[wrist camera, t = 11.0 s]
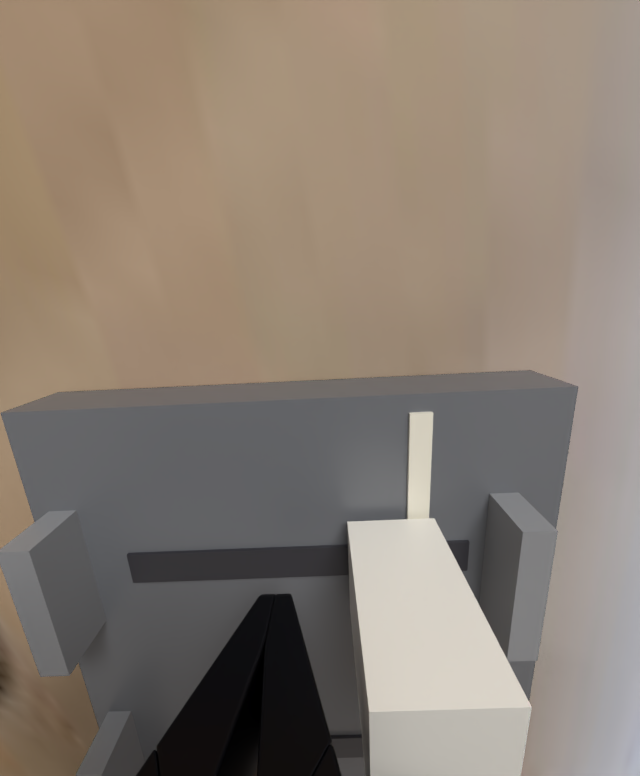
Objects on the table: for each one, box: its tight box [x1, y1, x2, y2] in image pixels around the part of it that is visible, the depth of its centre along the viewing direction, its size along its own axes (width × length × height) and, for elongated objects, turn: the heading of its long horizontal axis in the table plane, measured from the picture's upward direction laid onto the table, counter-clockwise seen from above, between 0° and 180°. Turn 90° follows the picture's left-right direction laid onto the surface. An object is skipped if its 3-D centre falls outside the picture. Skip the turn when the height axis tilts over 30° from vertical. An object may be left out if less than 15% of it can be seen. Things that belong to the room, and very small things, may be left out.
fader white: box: [347, 518, 532, 776], centre depth 7 cm, size 3×2×4 cm
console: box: [0, 370, 578, 776], centre depth 11 cm, size 18×15×4 cm
